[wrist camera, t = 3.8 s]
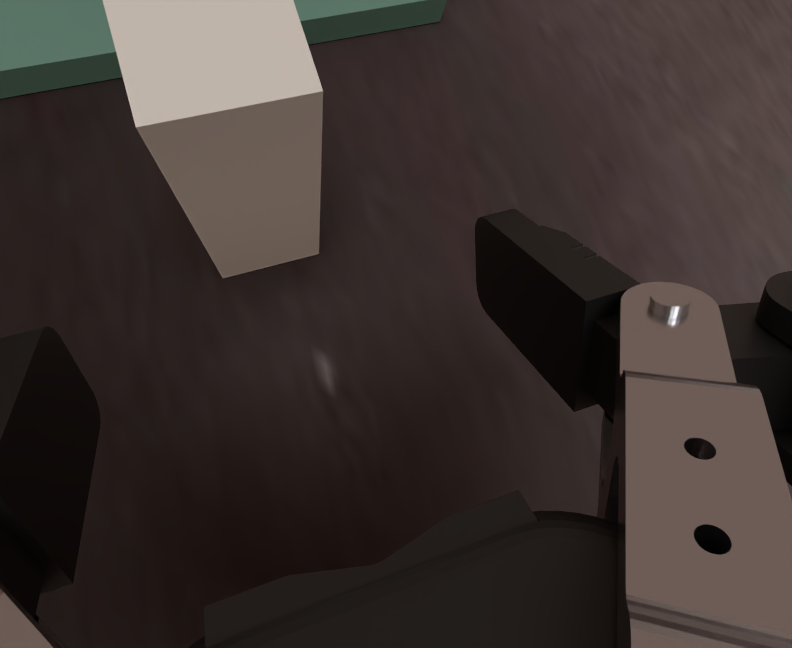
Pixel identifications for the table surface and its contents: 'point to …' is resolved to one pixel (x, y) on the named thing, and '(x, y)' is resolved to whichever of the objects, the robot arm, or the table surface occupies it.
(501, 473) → the table surface
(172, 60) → the keyed plug
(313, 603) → the robot arm
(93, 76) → the header board
